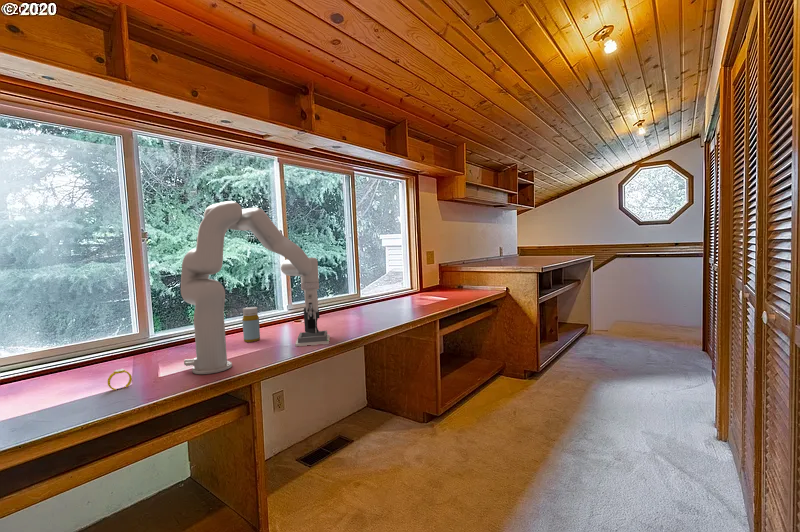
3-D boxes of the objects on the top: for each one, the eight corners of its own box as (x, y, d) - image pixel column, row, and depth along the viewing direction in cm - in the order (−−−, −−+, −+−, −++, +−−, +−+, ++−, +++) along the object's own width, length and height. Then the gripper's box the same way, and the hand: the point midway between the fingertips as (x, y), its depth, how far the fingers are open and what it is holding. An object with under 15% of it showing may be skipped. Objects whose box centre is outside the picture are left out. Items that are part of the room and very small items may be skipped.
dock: (295, 346, 165) (294, 339, 165) (298, 339, 179) (297, 332, 179) (329, 344, 168) (328, 336, 167) (329, 336, 181) (329, 329, 181)
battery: (321, 332, 173) (320, 306, 172) (314, 333, 170) (313, 307, 169) (311, 330, 177) (309, 305, 177) (304, 332, 174) (302, 306, 174)
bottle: (253, 338, 185) (251, 306, 185) (263, 339, 181) (261, 307, 181) (240, 341, 180) (238, 308, 179) (250, 343, 176) (247, 309, 175)
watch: (130, 386, 125) (130, 367, 125) (132, 388, 123) (132, 368, 123) (106, 390, 120) (107, 371, 120) (109, 392, 119) (109, 372, 119)
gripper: (318, 287, 164) (320, 330, 165) (319, 283, 181) (321, 322, 182) (299, 288, 163) (302, 331, 164) (302, 284, 180) (305, 323, 181)
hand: (312, 326), depth 173 cm, fingers closed on battery, 6 cm apart
